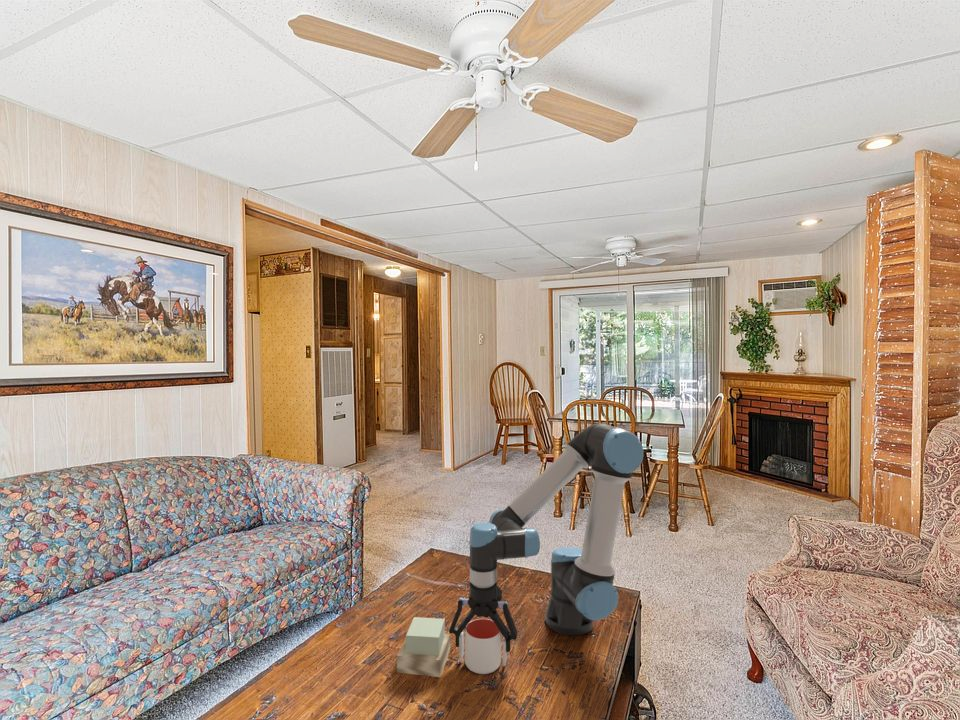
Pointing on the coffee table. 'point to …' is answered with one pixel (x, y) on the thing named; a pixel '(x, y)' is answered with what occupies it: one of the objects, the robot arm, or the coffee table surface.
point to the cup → (482, 646)
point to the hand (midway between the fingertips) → (482, 660)
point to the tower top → (425, 636)
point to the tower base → (423, 661)
